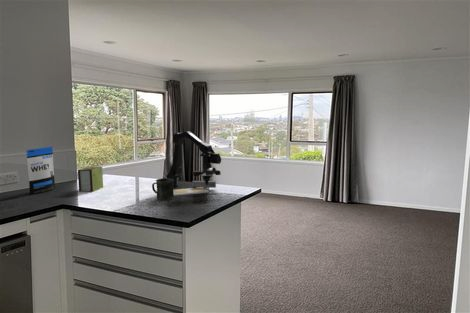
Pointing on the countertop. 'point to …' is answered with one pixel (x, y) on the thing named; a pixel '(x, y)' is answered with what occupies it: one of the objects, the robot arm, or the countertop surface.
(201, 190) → the label panel
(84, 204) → the countertop surface
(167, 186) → the mug
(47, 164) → the protein powder
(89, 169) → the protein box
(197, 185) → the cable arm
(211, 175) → the robot arm
